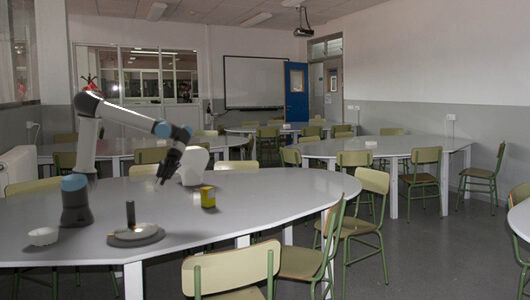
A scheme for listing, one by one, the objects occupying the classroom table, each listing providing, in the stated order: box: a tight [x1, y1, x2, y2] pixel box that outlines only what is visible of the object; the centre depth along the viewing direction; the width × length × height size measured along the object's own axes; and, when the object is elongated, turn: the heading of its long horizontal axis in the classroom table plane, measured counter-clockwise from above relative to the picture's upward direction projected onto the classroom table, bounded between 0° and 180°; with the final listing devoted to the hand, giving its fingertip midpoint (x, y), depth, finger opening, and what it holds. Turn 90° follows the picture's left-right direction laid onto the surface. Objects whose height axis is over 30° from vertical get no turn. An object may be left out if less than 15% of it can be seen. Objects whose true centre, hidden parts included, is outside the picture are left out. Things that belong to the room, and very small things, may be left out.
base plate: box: [106, 226, 166, 249], centre depth 169 cm, size 24×24×2 cm
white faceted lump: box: [176, 145, 211, 187], centre depth 278 cm, size 21×27×26 cm
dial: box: [113, 199, 159, 241], centre depth 168 cm, size 18×18×13 cm
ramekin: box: [27, 226, 60, 247], centre depth 165 cm, size 11×11×5 cm
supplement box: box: [199, 185, 217, 210], centre depth 214 cm, size 6×6×11 cm
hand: (156, 190), depth 188 cm, fingers closed
